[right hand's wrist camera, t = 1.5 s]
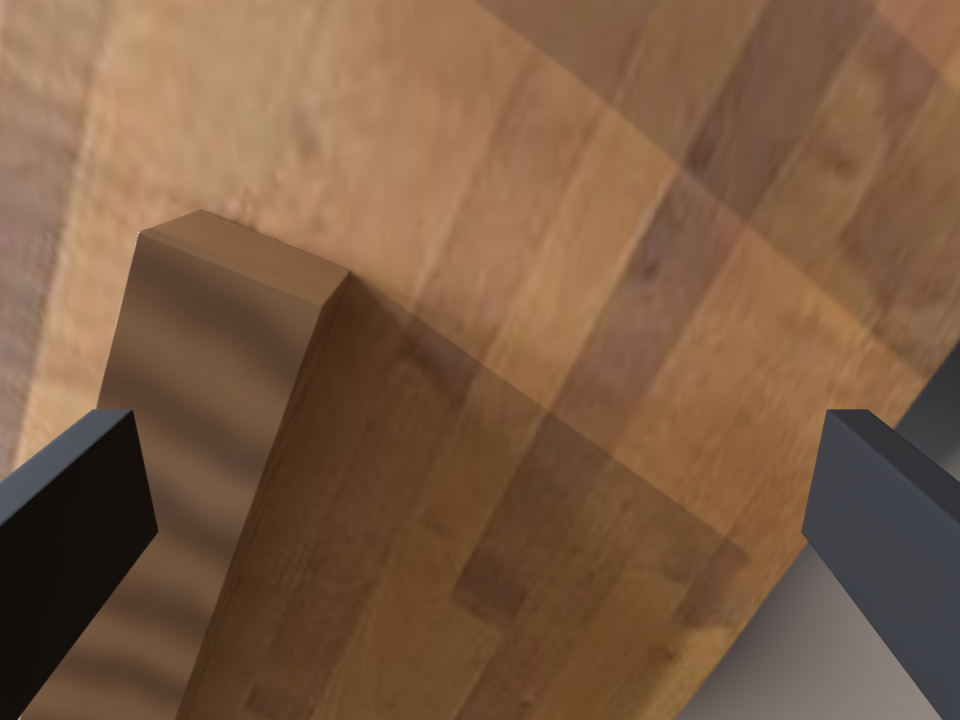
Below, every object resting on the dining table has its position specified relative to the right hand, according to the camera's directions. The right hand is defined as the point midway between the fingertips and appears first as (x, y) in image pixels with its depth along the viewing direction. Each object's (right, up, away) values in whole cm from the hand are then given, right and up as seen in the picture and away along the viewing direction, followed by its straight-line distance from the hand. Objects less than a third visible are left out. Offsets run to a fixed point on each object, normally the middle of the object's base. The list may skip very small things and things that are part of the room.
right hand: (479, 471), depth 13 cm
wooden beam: (-24, -19, +36) cm, 47 cm away
